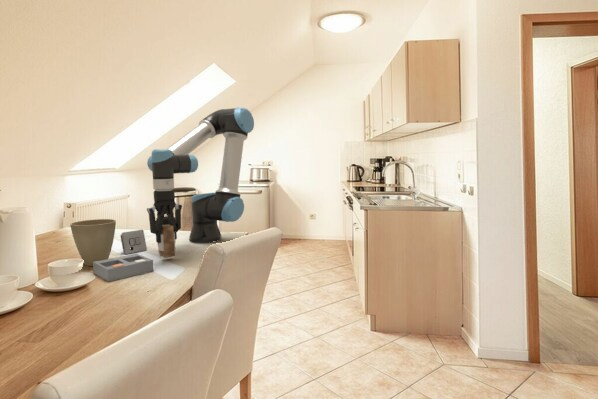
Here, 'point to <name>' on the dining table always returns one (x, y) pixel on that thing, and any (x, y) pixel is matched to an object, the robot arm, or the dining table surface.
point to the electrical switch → (133, 241)
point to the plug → (168, 241)
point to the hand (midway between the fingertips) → (167, 249)
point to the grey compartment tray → (122, 267)
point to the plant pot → (93, 239)
